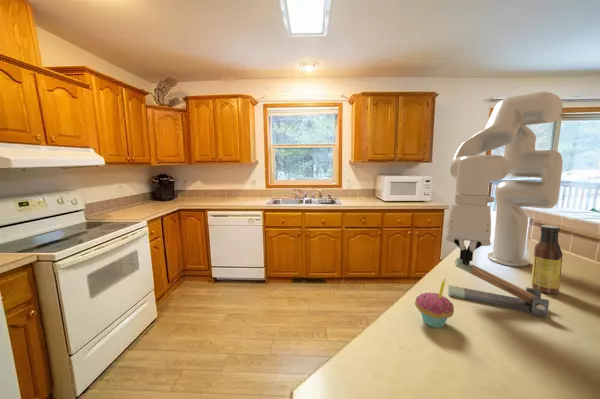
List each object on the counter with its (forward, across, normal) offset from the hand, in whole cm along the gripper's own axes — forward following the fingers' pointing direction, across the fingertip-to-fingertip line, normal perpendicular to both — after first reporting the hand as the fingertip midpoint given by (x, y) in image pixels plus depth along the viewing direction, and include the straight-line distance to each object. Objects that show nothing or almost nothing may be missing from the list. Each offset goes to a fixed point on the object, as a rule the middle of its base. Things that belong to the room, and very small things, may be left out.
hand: (465, 262), depth 74 cm
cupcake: (+11, +7, +18) cm, 22 cm away
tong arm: (+5, -7, 0) cm, 8 cm away
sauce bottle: (+10, -22, -16) cm, 29 cm away
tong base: (+10, -8, 0) cm, 13 cm away
